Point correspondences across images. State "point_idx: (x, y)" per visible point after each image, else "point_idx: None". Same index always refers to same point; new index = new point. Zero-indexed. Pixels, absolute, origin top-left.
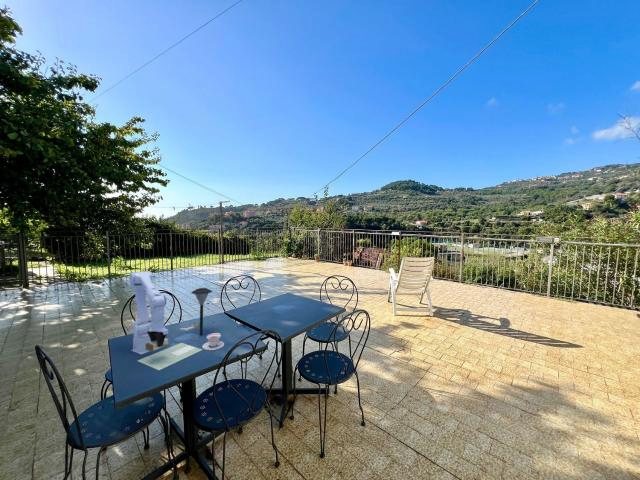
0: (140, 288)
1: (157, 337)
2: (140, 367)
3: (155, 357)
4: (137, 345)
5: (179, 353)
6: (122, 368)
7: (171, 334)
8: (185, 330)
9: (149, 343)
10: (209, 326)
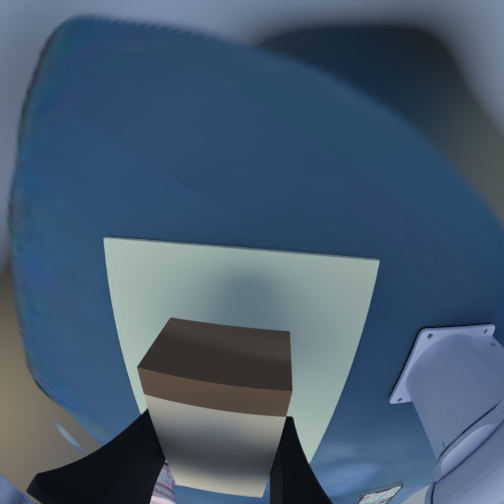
0: None
1: (69, 477)
2: (267, 209)
3: (295, 348)
4: (480, 358)
5: None
6: (379, 143)
7: (410, 466)
8: (372, 492)
9: (244, 413)
10: None
